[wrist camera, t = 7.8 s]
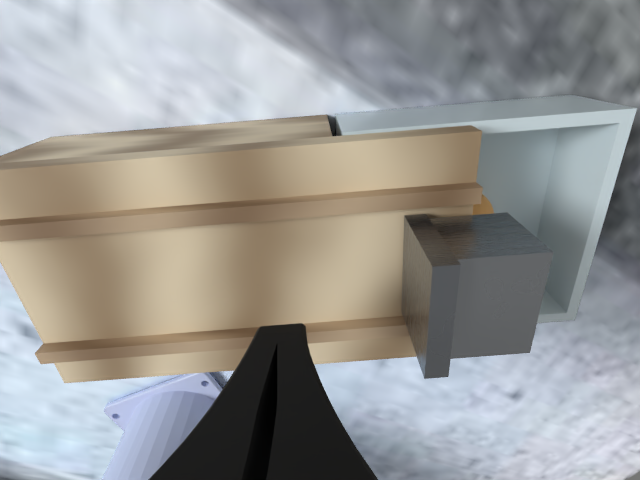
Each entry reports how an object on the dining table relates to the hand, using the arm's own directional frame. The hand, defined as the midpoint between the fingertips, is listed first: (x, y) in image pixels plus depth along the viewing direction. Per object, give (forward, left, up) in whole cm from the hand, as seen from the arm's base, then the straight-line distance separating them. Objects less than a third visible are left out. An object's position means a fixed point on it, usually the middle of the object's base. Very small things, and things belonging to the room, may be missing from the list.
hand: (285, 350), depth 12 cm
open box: (-3, -8, -10) cm, 13 cm away
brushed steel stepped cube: (-2, -6, -4) cm, 8 cm away
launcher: (+1, +3, -10) cm, 10 cm away
